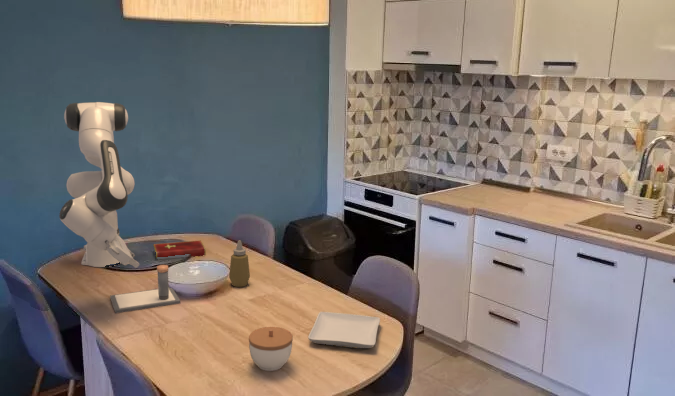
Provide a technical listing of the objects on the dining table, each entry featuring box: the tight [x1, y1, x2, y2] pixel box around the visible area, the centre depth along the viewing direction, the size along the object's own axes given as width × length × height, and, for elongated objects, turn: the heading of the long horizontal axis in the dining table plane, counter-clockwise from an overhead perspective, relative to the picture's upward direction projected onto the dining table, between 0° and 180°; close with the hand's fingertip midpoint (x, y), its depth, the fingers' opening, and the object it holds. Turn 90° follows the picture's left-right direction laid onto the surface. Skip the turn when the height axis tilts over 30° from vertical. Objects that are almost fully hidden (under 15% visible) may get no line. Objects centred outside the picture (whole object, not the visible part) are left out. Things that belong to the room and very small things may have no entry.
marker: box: [156, 264, 170, 300], centre depth 211 cm, size 4×4×12 cm
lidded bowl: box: [248, 326, 294, 372], centre depth 171 cm, size 13×13×11 cm
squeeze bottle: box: [228, 240, 251, 288], centre depth 229 cm, size 8×8×18 cm
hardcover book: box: [153, 240, 207, 259], centre depth 263 cm, size 12×21×4 cm, turn 113°
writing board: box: [109, 286, 181, 314], centre depth 213 cm, size 14×22×1 cm, turn 117°
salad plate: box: [307, 311, 381, 349], centre depth 192 cm, size 21×21×3 cm
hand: (135, 261), depth 205 cm, fingers open, 8 cm apart
